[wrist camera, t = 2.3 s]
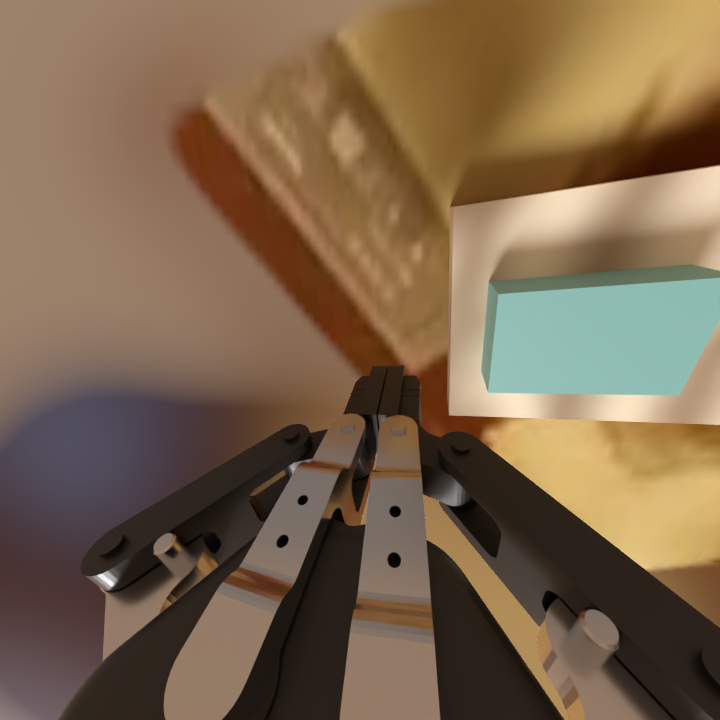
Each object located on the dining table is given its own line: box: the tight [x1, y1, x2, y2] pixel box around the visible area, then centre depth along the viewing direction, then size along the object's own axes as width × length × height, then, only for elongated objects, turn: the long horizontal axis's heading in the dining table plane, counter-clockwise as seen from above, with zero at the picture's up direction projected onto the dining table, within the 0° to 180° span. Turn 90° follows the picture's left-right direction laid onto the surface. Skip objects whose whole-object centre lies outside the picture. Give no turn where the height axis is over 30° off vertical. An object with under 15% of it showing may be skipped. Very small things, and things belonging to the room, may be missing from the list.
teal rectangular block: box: [481, 264, 720, 395], centre depth 14 cm, size 9×6×2 cm, turn 98°
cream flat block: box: [447, 165, 720, 425], centre depth 16 cm, size 16×14×2 cm
